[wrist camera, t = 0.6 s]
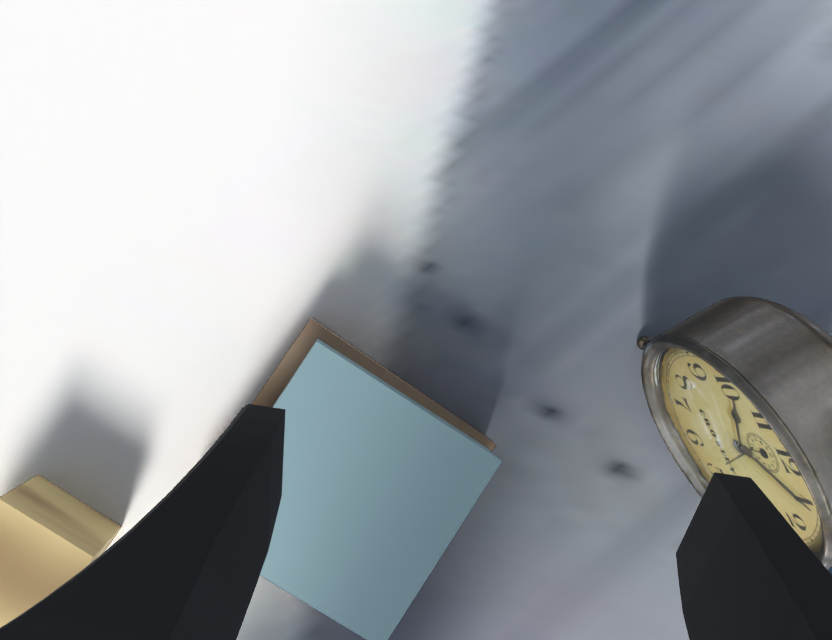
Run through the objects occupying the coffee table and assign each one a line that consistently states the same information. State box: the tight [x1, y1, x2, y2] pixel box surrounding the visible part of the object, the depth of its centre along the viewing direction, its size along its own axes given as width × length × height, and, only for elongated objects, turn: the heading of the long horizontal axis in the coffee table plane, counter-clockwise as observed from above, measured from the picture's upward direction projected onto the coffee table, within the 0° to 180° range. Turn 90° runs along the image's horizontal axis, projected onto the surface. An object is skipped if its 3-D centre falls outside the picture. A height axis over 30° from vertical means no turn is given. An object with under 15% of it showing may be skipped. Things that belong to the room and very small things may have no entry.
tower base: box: [252, 318, 496, 451], centre depth 36 cm, size 10×10×3 cm
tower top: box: [260, 339, 502, 640], centre depth 33 cm, size 9×9×3 cm
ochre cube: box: [0, 475, 121, 628], centre depth 34 cm, size 4×4×4 cm
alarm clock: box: [637, 297, 832, 570], centre depth 31 cm, size 11×5×16 cm, turn 27°
